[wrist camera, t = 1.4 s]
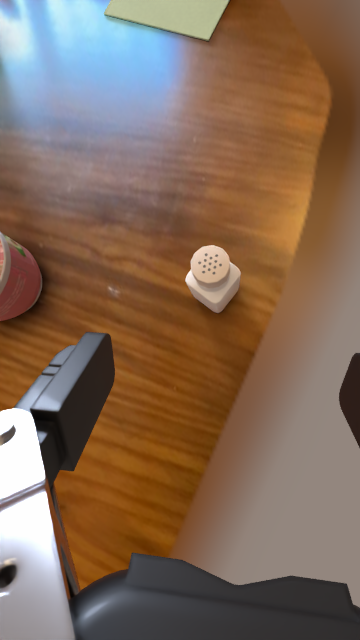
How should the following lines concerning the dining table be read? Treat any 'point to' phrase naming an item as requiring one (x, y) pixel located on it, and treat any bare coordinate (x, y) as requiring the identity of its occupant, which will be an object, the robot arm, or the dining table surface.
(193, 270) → the salt shaker
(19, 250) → the container
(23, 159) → the dining table surface
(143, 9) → the edge strip
